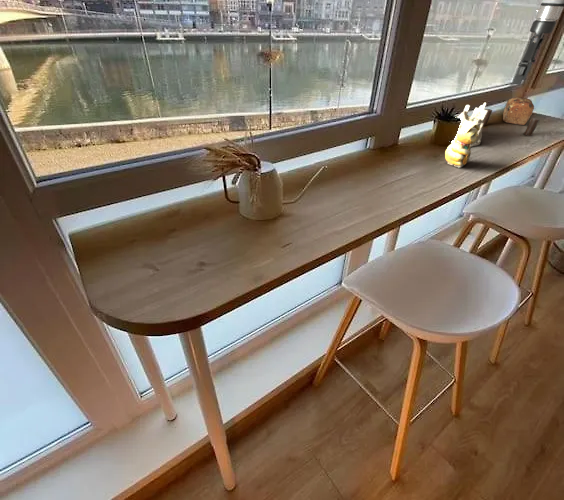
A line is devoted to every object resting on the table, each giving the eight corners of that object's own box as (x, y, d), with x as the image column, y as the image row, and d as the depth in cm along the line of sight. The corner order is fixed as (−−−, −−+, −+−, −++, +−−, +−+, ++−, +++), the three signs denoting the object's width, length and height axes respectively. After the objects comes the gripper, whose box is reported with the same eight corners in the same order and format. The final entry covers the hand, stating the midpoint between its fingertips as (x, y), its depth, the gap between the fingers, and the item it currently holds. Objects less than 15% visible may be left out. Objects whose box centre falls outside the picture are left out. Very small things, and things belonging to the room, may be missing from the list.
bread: (525, 126, 156) (536, 104, 150) (501, 122, 160) (510, 100, 154) (524, 116, 169) (534, 96, 163) (501, 113, 173) (510, 93, 166)
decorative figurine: (462, 171, 113) (480, 127, 103) (438, 164, 116) (453, 121, 107) (469, 162, 119) (486, 120, 109) (445, 156, 122) (460, 115, 113)
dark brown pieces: (531, 134, 146) (540, 118, 142) (530, 136, 144) (539, 120, 140) (479, 123, 157) (486, 108, 152) (478, 125, 155) (484, 109, 151)
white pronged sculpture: (450, 129, 147) (463, 94, 137) (486, 141, 138) (503, 105, 128) (432, 139, 139) (444, 102, 129) (469, 152, 130) (485, 114, 120)
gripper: (538, 18, 133) (513, 76, 146) (529, 20, 117) (503, 85, 131) (559, 19, 130) (532, 78, 143) (554, 22, 114) (524, 88, 127)
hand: (518, 81), depth 137 cm, fingers open, 13 cm apart
